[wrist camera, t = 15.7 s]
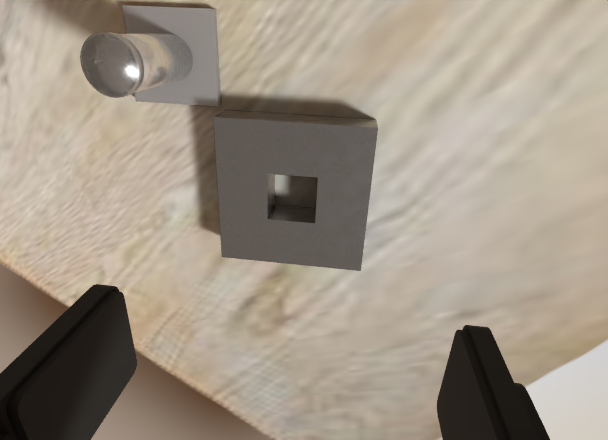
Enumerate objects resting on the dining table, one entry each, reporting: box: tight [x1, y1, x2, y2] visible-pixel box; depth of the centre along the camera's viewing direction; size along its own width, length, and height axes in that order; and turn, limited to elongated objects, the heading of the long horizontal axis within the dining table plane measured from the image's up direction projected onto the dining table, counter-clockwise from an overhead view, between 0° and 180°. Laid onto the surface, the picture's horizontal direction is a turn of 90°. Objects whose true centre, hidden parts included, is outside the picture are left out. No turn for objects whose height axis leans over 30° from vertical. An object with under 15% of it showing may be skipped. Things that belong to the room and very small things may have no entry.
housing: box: [213, 110, 378, 271], centre depth 43 cm, size 16×16×4 cm
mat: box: [122, 5, 221, 106], centre depth 40 cm, size 9×9×1 cm
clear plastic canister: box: [80, 32, 193, 98], centre depth 34 cm, size 5×5×11 cm
